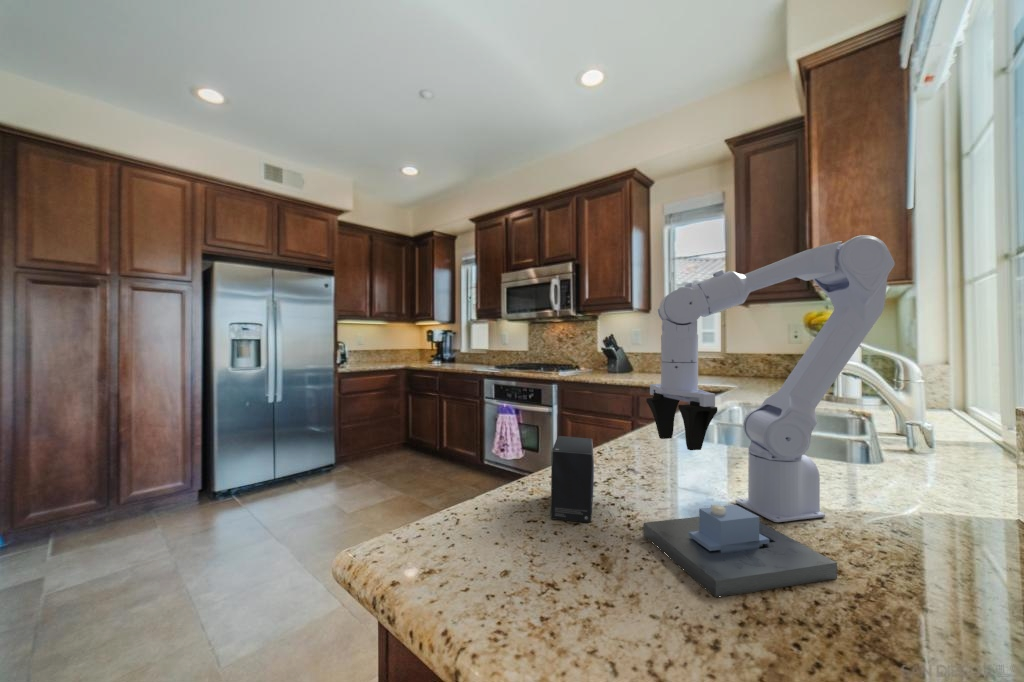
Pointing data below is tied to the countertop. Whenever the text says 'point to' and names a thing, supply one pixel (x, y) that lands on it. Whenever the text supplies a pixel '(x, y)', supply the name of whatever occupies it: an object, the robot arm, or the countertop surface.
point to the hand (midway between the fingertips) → (679, 443)
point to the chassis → (740, 559)
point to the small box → (572, 479)
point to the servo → (728, 529)
